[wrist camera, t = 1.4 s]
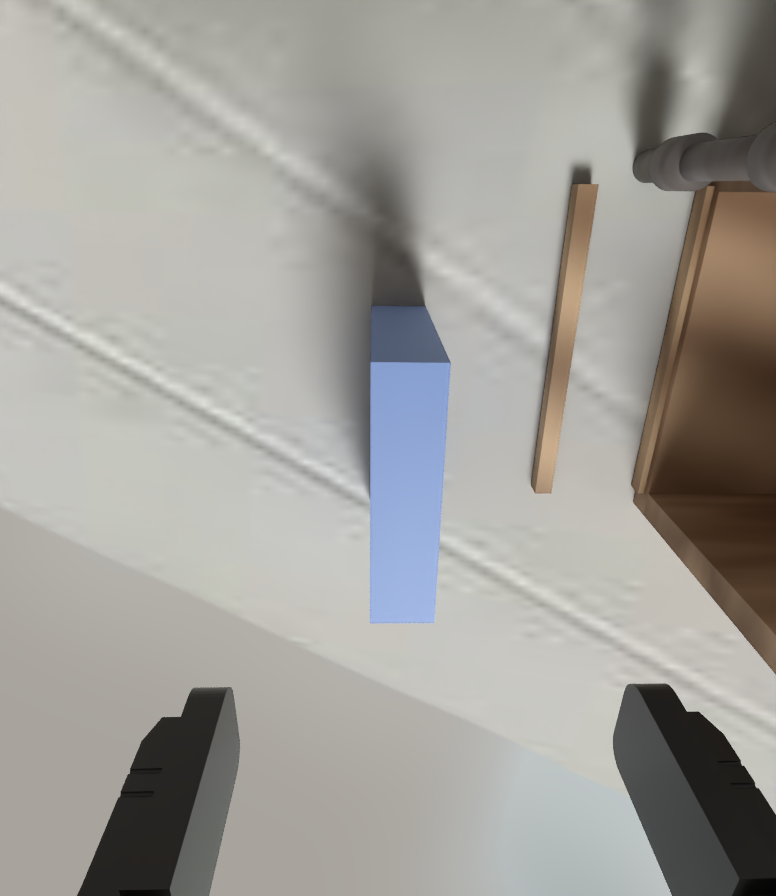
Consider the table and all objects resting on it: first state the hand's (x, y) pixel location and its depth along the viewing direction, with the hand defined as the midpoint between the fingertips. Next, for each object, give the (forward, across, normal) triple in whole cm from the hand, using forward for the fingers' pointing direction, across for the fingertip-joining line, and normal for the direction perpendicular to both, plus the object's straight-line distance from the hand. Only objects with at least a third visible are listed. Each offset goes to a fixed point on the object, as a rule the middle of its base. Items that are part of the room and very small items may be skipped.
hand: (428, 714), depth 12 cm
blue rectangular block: (+17, 0, 0) cm, 17 cm away
